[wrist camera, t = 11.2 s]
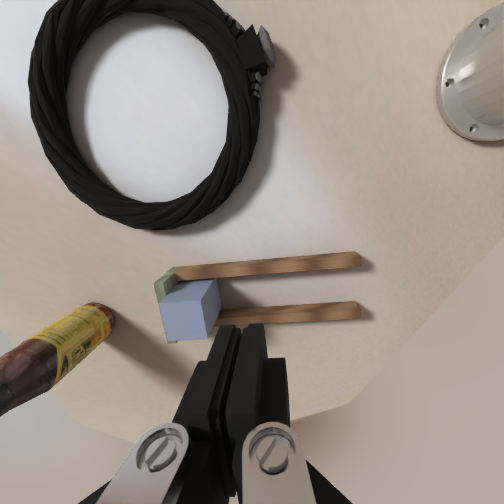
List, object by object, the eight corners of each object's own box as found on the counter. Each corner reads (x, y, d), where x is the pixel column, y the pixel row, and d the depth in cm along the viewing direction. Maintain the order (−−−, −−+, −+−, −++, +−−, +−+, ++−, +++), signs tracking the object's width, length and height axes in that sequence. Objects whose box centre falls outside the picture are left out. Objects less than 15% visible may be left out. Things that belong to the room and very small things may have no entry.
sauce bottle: (103, 342, 42) (-44, 479, 22) (72, 317, 41) (-107, 437, 22) (126, 317, 40) (-13, 443, 21) (94, 291, 39) (-80, 396, 20)
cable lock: (-31, 41, 28) (211, -136, 22) (5, 57, 32) (220, -91, 26) (99, 263, 34) (317, 170, 28) (117, 255, 38) (312, 171, 32)
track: (354, 251, 34) (370, 266, 28) (355, 308, 36) (370, 333, 30) (172, 267, 37) (153, 283, 31) (183, 319, 39) (167, 343, 33)
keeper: (216, 275, 36) (200, 300, 29) (221, 306, 38) (207, 339, 30) (183, 277, 37) (158, 303, 29) (189, 308, 38) (167, 341, 31)
